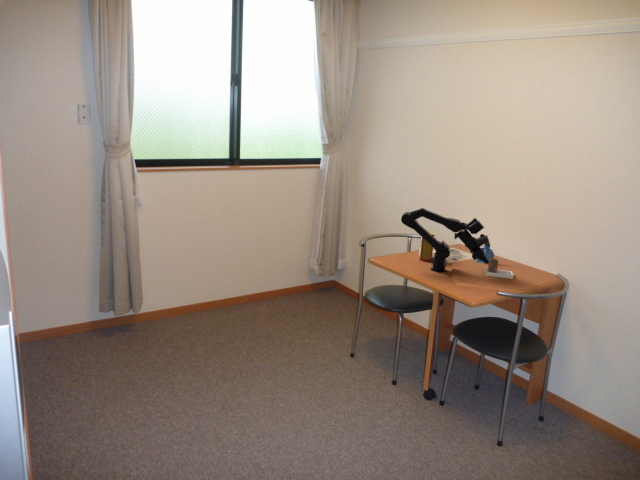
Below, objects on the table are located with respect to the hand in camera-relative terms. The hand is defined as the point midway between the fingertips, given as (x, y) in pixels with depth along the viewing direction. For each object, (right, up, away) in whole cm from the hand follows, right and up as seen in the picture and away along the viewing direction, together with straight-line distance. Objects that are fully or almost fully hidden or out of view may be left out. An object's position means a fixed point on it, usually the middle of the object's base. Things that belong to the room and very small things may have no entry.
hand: (487, 262), depth 249 cm
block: (+2, -6, +1) cm, 7 cm away
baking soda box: (-26, +1, +28) cm, 39 cm away
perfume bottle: (+6, -2, +24) cm, 25 cm away
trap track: (+6, -8, 0) cm, 10 cm away
